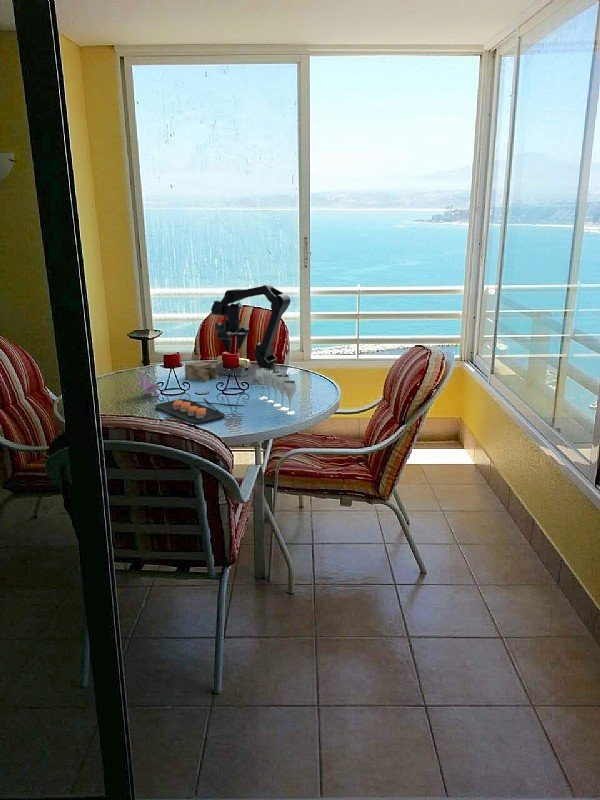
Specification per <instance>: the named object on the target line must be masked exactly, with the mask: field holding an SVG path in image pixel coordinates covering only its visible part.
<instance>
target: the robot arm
mask: <svg viewBox="0 0 600 800" xmlns="http://www.w3.org/2000/svg"><path fill="white" fill-rule="evenodd" d="M262 295H263V296H265V298H266V300H267V301H268V302H270V311H271V313H270V317H269V319H268V321H267V326H266V329H265V331H264V335H263V337H262V341H261V342H259V343H256V344H255V349H254V350H253V353H254V355H253V357H254V358H255V360H256V363H257V366H259V367H258V368H268V369H273V371H276V370H275V369H276V364H277V362H278V358H277V357H276V356H275V354H274V345H273V343H274V340H275V337H276V334H277V332H278V328H279V326H280V323H281V320H282V317H283V315H284V314H285V312H286V311H287V309H288V308H289V306H290V304H291V298H290V296H289V295H288V294H286V293H283V291H281V290H279V289H278V288H275V287H274V286H273V285H271V284H265V285H264V284H263V285H262V286H257V287H252V288H246V289H244V288H243V289H242V288H235V289H229V290H226V291H225V292H224V296H223V298H222V299H221V301H220V300H214V301H213V304H212V306H211V309H210V311H211V314H212V316H218V317H226V319H224V322H223V323H220V321H219V322H216V323H214V330H216V331H217V332H216V338H217V339H219V340H221V341H222V343H223V345H224V346H223V347H224V349H225V350H226V353H227V354H228V353H230V351H231V347H232V343H233V338H232V337H233V335H235V337H236V344H237V349H238V350H241V349H242V346H243V344H244V342H245V341H246V338H247V336H248V334H250V327H248V326H241V325H240V323H241V322H242V319H240V309H243V308H244V305H243V304H242V303H241V302H240V301H243V300H245V299H247V298H251V297H255V296H262Z"/></svg>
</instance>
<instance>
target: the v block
mask: <svg viewBox="0 0 600 800" xmlns="http://www.w3.org/2000/svg"><path fill="white" fill-rule="evenodd" d="M215 367H217V375H224V374H225V375H224V376H229V375H228V374H229V372H230V374H231V375H233V373H235V374H236V376H234V375H233V376H232V377H237V378H238V377H239V378H242V377H245V376H247V375H251V374H253V371H254V368H253V364H251V363H250V366H249V368H245V367H241V366H239V368H237V369H234V370H228V369H224V368H223V364H218V363H216V365H215Z"/></svg>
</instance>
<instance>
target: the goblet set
mask: <svg viewBox="0 0 600 800" xmlns="http://www.w3.org/2000/svg"><path fill="white" fill-rule="evenodd" d="M254 374H255V376H254V377H255V379H256V381H258V382H259V384H260V385H261V395H260V397H259V396H257V397H256V399H257V398H258V399H257V400H264V403H266V402H268V404H269V403H270V406H271V407H276V410H278V411H282V410H284V411H283V413H284V414H285V415H295V414H296V413H295V412H296V411H293V410H291V403H292V398H293V397H294V395H295V393H296V391H297V382H296V381H295V380H290V375H289V374H285V373H284V374H283V373H281V372H280V371H278V370H275V371H273V369H268V368H259V367H258V368H256V370H255V373H254ZM265 384H266V385H267V390H268V391H267V392H268V396H266V397H265V395H264V386H265ZM271 386H272V387H273V390H274V395H275V396H274V397H275V398H274V399H275V400H272V399H270V398H269V396H270V392H271V391H270V390H271V389H270V388H271ZM278 391H279V393H280V395H281V404H280V403H277V392H278ZM285 395H286V397H287V398H288V403H289V405H288V406H289V407H287V406H284V396H285ZM267 398H268V399H267ZM271 402H272V404H271ZM294 413H295V414H294Z"/></svg>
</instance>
